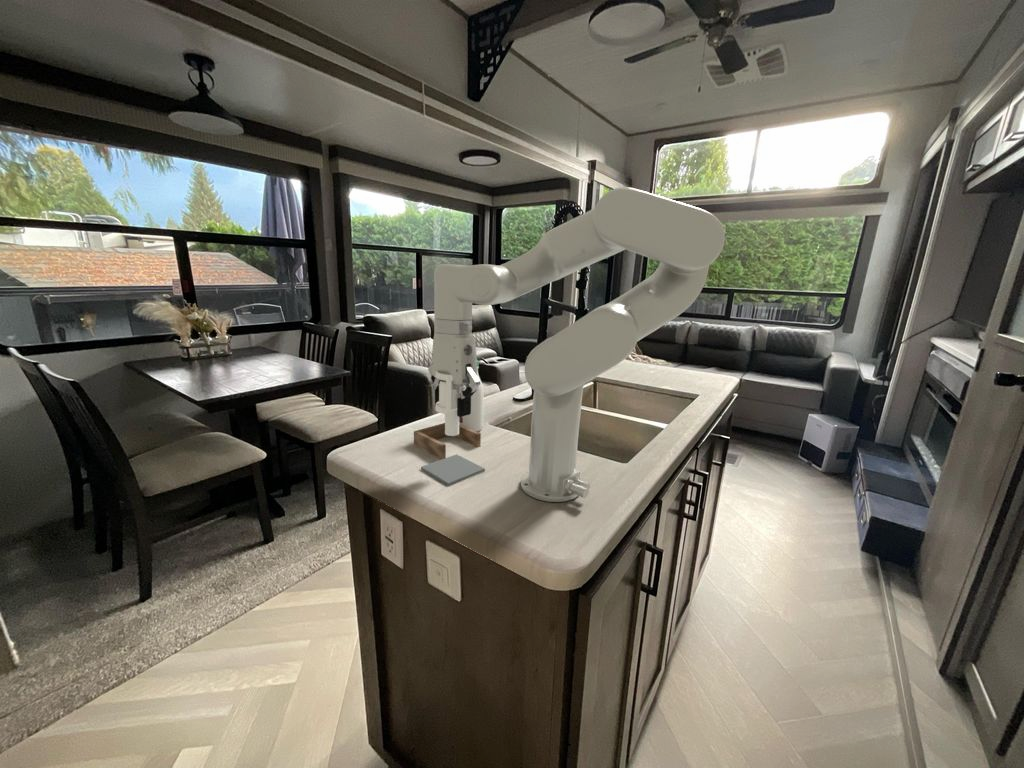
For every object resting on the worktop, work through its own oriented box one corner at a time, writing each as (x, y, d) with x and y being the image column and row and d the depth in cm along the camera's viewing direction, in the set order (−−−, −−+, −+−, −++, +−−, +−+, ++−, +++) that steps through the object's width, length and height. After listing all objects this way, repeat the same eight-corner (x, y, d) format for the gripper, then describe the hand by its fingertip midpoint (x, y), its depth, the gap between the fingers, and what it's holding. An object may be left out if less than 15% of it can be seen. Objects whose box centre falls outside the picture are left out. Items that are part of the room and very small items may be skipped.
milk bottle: (484, 424, 118) (486, 358, 113) (480, 434, 110) (481, 363, 105) (459, 423, 119) (459, 356, 114) (452, 432, 111) (453, 361, 106)
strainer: (465, 440, 83) (466, 370, 80) (431, 438, 84) (431, 368, 80) (470, 428, 90) (472, 363, 86) (440, 426, 91) (440, 361, 87)
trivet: (484, 471, 89) (484, 468, 89) (448, 485, 82) (448, 483, 82) (456, 456, 96) (456, 454, 96) (421, 469, 89) (421, 466, 89)
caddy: (480, 446, 103) (480, 433, 102) (442, 459, 94) (442, 445, 93) (451, 432, 111) (451, 421, 110) (413, 444, 102) (413, 431, 101)
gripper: (496, 331, 78) (492, 417, 83) (442, 322, 90) (442, 398, 94) (466, 334, 73) (464, 425, 77) (413, 323, 84) (414, 404, 89)
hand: (452, 410), depth 86 cm, fingers closed on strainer, 7 cm apart
